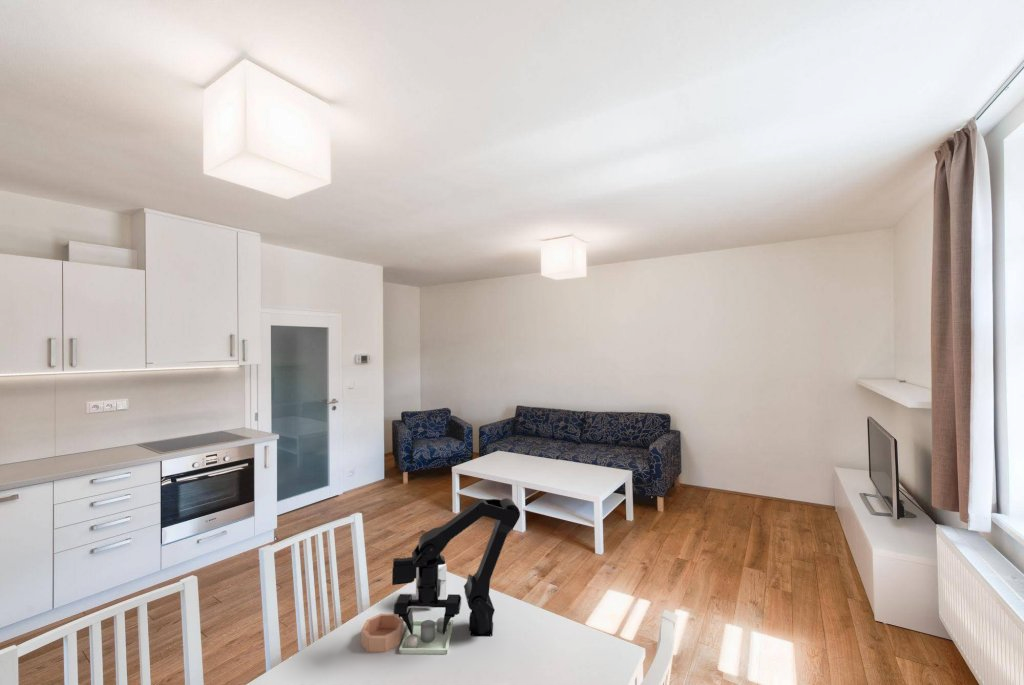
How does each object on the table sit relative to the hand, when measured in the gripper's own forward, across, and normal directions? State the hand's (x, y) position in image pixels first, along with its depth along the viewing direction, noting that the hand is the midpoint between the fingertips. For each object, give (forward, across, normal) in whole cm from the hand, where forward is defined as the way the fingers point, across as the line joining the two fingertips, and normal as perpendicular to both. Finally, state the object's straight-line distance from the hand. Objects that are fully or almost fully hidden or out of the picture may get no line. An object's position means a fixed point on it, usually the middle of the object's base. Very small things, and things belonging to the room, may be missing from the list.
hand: (427, 633), depth 124 cm
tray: (+2, 0, 0) cm, 2 cm away
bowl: (+2, +13, 0) cm, 13 cm away
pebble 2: (+1, -4, -4) cm, 5 cm away
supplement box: (+2, +2, -18) cm, 18 cm away
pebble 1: (+1, +4, +4) cm, 6 cm away
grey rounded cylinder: (+1, 0, 0) cm, 1 cm away
